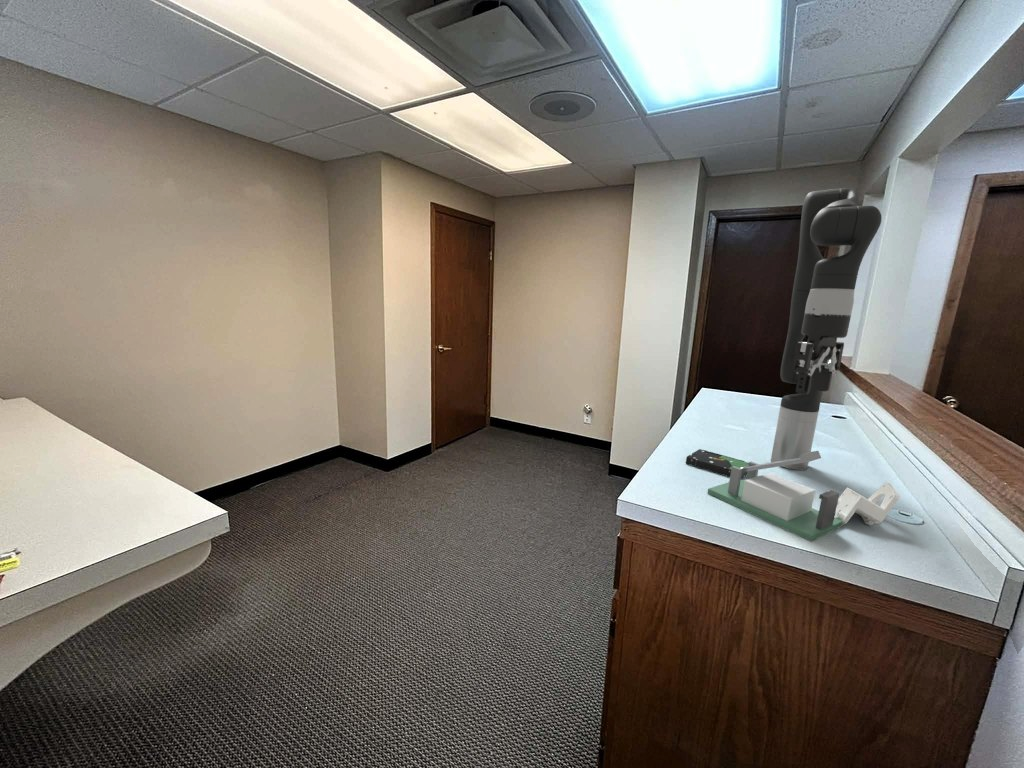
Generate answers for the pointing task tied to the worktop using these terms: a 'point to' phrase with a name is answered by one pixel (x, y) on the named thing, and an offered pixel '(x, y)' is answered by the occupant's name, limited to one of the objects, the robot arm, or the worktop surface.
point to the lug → (827, 509)
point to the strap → (784, 462)
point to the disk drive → (715, 462)
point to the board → (792, 525)
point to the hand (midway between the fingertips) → (812, 392)
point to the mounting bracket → (866, 504)
